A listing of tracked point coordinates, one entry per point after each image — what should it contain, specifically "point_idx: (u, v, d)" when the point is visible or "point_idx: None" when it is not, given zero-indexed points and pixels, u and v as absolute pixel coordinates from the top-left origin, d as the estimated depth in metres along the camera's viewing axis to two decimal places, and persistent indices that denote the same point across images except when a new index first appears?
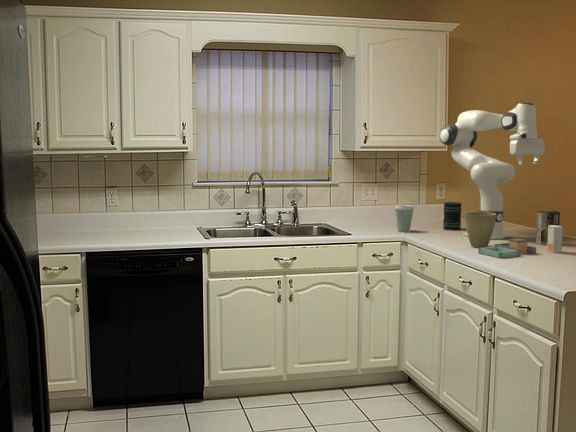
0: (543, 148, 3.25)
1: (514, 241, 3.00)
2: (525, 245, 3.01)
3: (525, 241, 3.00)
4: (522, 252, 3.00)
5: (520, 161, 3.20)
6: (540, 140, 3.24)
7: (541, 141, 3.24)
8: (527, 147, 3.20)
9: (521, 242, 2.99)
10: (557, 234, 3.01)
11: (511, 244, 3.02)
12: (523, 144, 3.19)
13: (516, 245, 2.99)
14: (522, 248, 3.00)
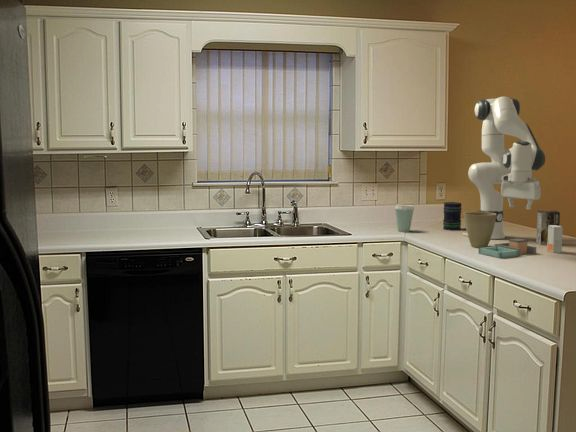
0: (532, 193, 2.91)
1: (514, 241, 3.00)
2: (525, 245, 3.01)
3: (525, 241, 3.00)
4: (522, 252, 3.00)
5: None
6: (530, 184, 2.92)
7: (530, 185, 2.92)
8: (514, 190, 3.00)
9: (521, 242, 2.99)
10: (557, 234, 3.01)
11: (511, 244, 3.02)
12: (510, 186, 3.02)
13: (516, 245, 2.99)
14: (522, 248, 3.00)
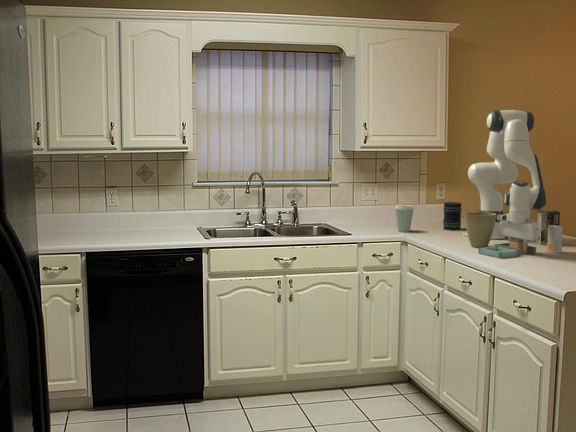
0: (530, 234, 2.93)
1: (514, 241, 3.00)
2: None
3: None
4: (522, 252, 3.00)
5: None
6: (528, 225, 2.94)
7: (528, 226, 2.94)
8: (512, 230, 3.02)
9: (521, 242, 2.99)
10: (557, 234, 3.01)
11: (511, 244, 3.02)
12: (508, 225, 3.05)
13: (516, 245, 2.99)
14: None
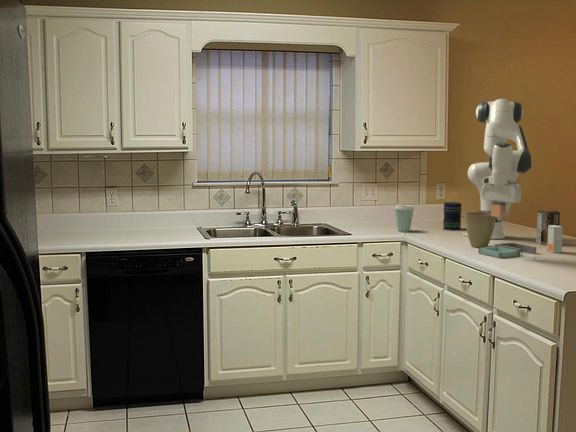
0: (512, 196, 2.86)
1: (496, 204, 2.92)
2: None
3: None
4: (505, 215, 2.93)
5: None
6: (510, 186, 2.87)
7: (510, 188, 2.86)
8: (495, 193, 2.94)
9: (503, 205, 2.92)
10: (557, 234, 3.01)
11: (493, 207, 2.94)
12: (490, 189, 2.97)
13: (498, 208, 2.91)
14: None
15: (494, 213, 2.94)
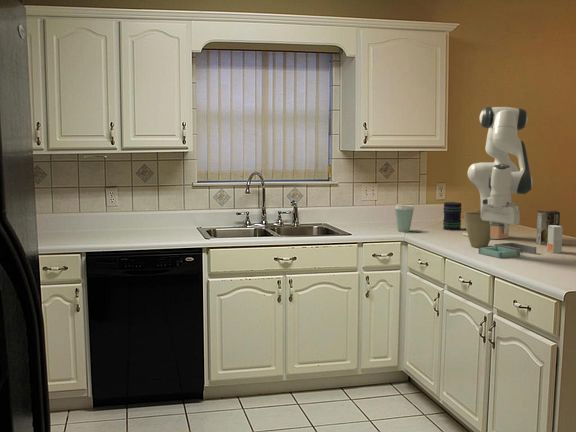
0: (511, 218, 2.87)
1: (495, 225, 2.93)
2: None
3: None
4: (503, 236, 2.94)
5: None
6: (509, 208, 2.88)
7: (509, 210, 2.87)
8: (494, 214, 2.96)
9: (502, 226, 2.93)
10: (557, 234, 3.01)
11: (492, 228, 2.95)
12: (489, 210, 2.98)
13: (497, 229, 2.92)
14: None
15: (493, 234, 2.95)
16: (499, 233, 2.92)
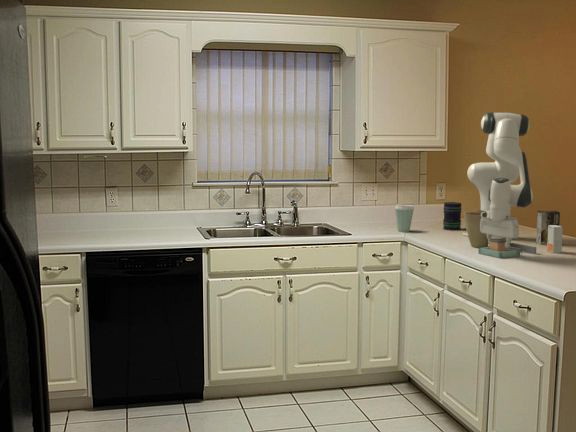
0: (510, 232, 2.87)
1: (494, 241, 2.94)
2: None
3: (505, 241, 2.95)
4: None
5: None
6: (508, 222, 2.88)
7: (508, 224, 2.88)
8: (493, 227, 2.96)
9: (501, 242, 2.94)
10: (557, 234, 3.01)
11: (491, 244, 2.96)
12: (489, 223, 2.99)
13: (496, 245, 2.94)
14: (502, 248, 2.94)
15: None
16: (498, 249, 2.93)
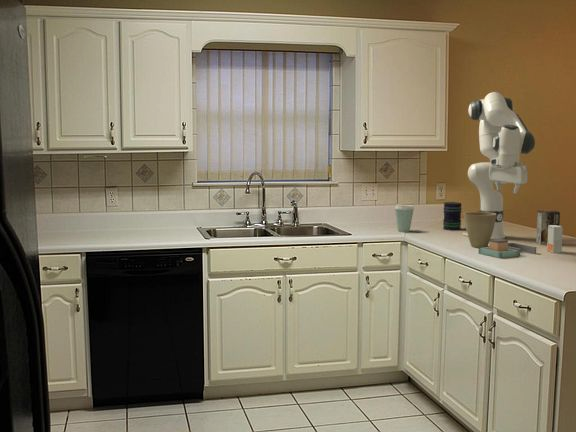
0: (519, 177, 2.93)
1: (494, 241, 2.94)
2: (505, 245, 2.95)
3: (505, 241, 2.95)
4: None
5: None
6: (517, 168, 2.94)
7: (517, 170, 2.94)
8: (502, 174, 3.02)
9: (501, 242, 2.94)
10: (557, 234, 3.01)
11: (491, 244, 2.96)
12: (498, 170, 3.04)
13: (496, 245, 2.94)
14: (502, 248, 2.94)
15: None
16: (498, 249, 2.93)
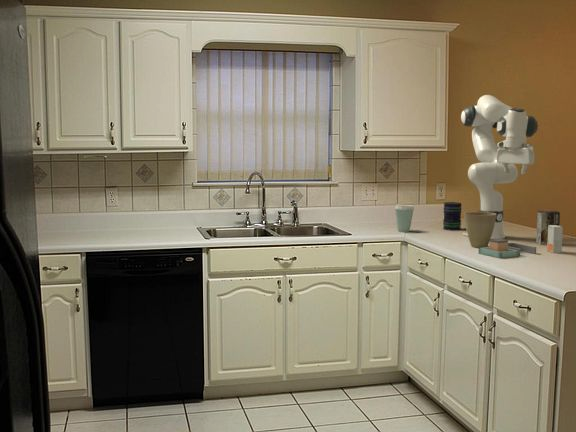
0: (526, 158, 3.01)
1: (494, 241, 2.94)
2: (505, 245, 2.95)
3: (505, 241, 2.95)
4: None
5: None
6: (524, 149, 3.02)
7: (524, 150, 3.02)
8: (509, 156, 3.10)
9: (501, 242, 2.94)
10: (557, 234, 3.01)
11: (491, 244, 2.96)
12: (505, 152, 3.12)
13: (496, 245, 2.94)
14: (502, 248, 2.94)
15: None
16: (498, 249, 2.93)
